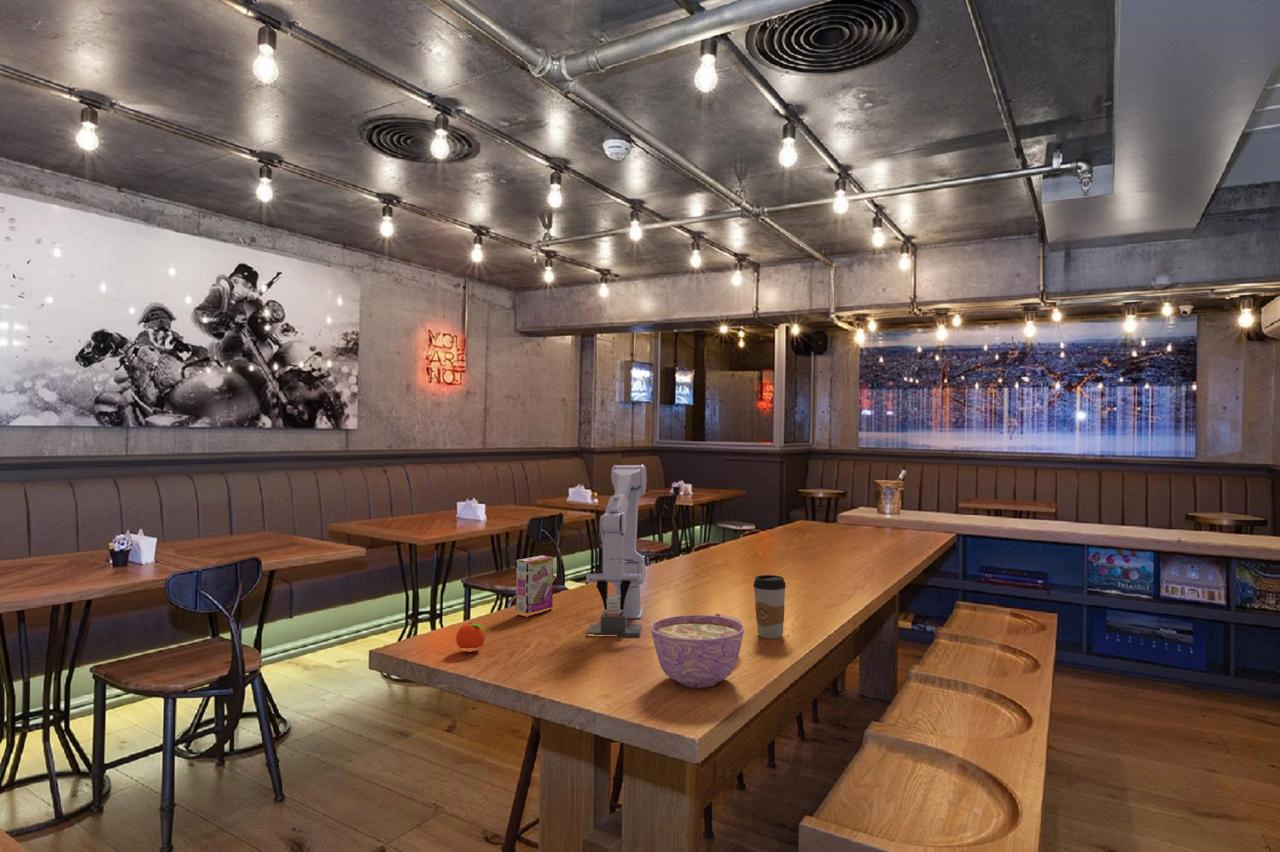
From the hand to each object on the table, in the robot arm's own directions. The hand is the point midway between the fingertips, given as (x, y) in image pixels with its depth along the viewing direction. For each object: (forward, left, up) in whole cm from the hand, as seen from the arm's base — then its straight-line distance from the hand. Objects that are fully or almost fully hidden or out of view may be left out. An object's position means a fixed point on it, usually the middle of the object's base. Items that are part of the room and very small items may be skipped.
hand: (614, 609), depth 189 cm
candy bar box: (-21, -26, -6) cm, 34 cm away
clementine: (+18, -33, -6) cm, 38 cm away
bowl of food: (+37, +22, -6) cm, 44 cm away
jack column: (0, 0, -5) cm, 5 cm away
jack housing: (0, 0, -6) cm, 6 cm away
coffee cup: (+2, +41, -6) cm, 42 cm away
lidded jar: (+17, +27, -6) cm, 33 cm away
